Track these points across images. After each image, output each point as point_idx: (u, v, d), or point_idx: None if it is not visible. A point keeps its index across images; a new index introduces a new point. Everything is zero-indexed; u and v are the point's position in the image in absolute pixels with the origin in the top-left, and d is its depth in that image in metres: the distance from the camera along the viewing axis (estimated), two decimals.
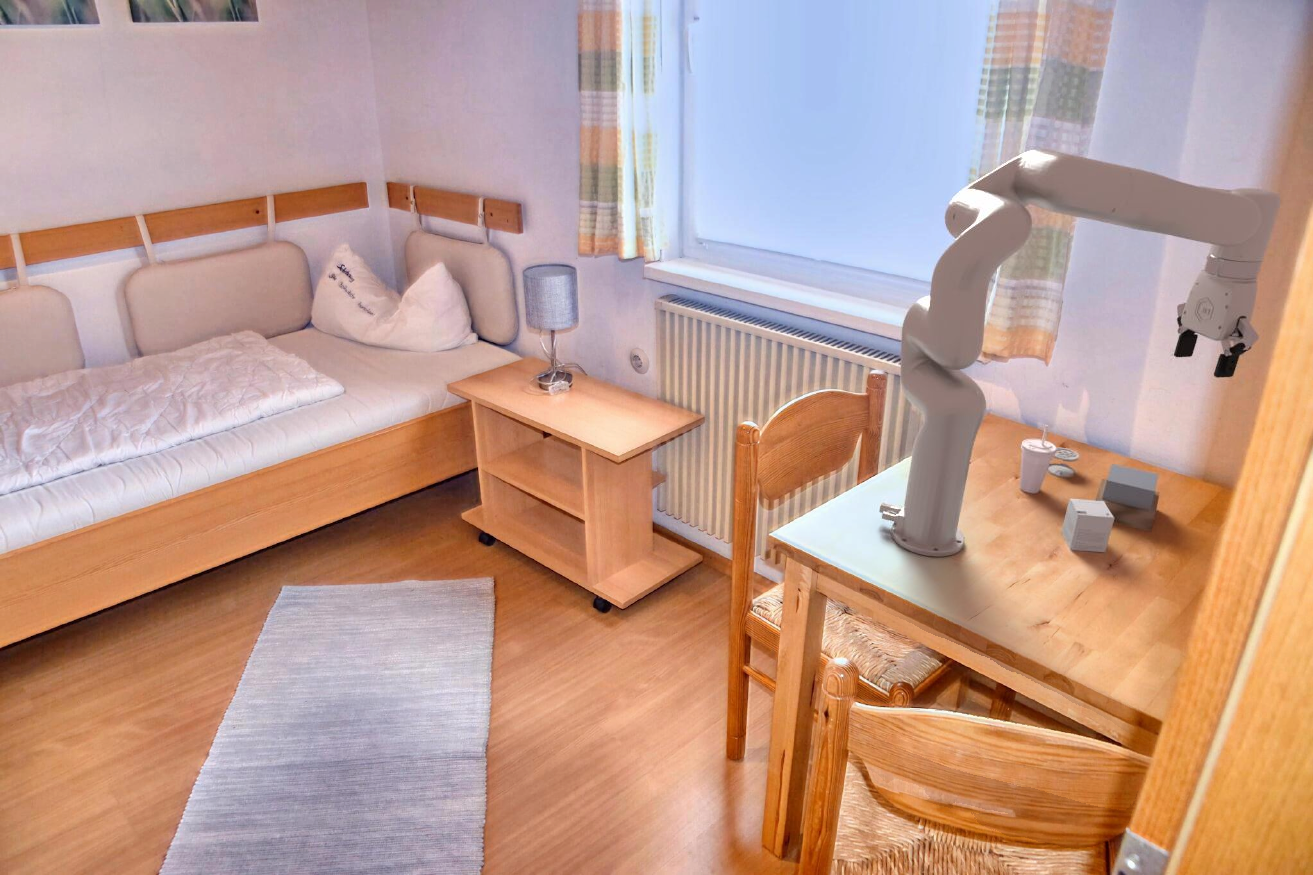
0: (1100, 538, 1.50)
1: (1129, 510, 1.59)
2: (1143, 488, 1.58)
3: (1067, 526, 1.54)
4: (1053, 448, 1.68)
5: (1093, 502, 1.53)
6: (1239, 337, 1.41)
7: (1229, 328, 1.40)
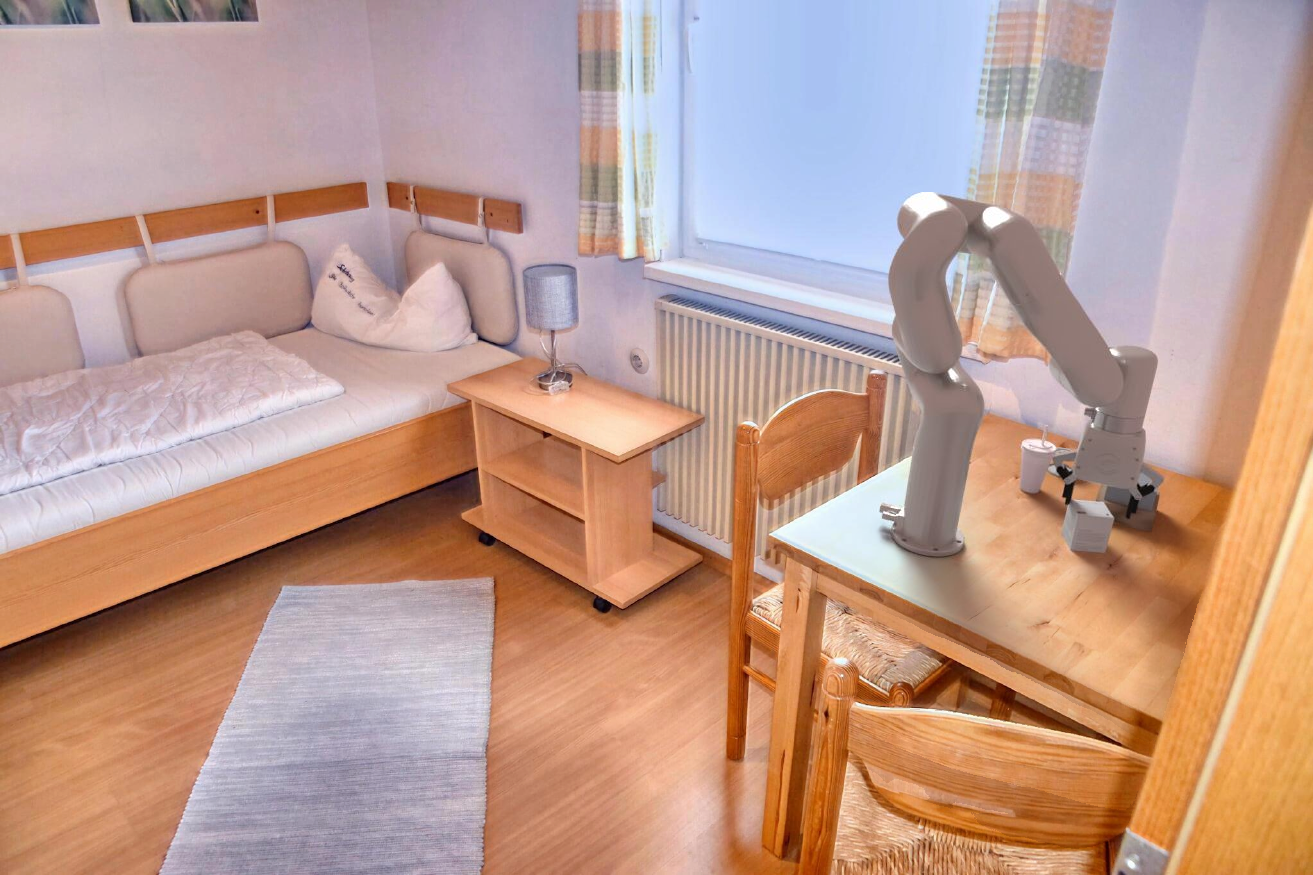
0: (1100, 538, 1.51)
1: None
2: None
3: (1067, 526, 1.54)
4: (1053, 448, 1.68)
5: (1093, 503, 1.53)
6: None
7: (1139, 476, 1.44)
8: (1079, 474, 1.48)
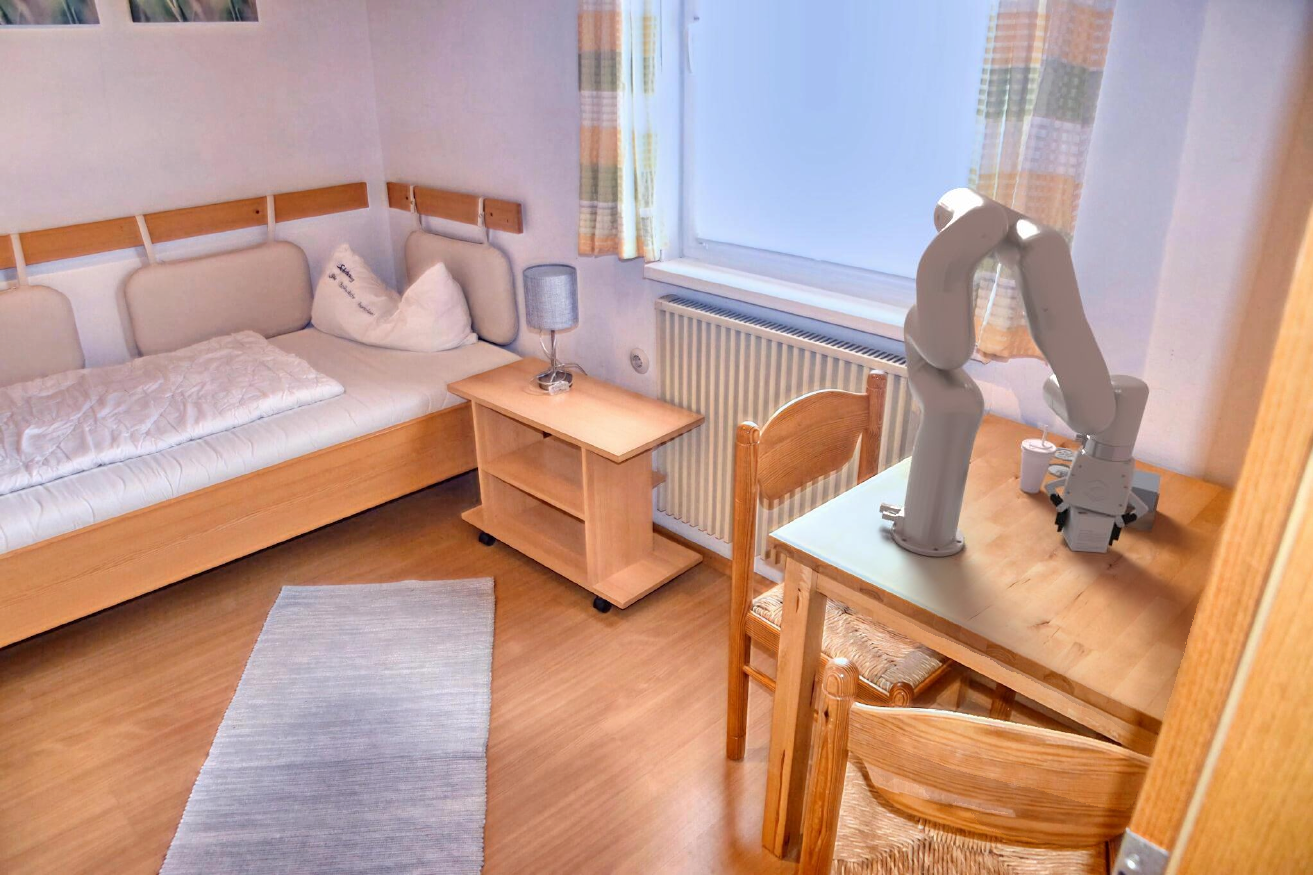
0: (1101, 538, 1.50)
1: (1129, 510, 1.59)
2: (1145, 489, 1.57)
3: (1068, 526, 1.54)
4: (1053, 448, 1.68)
5: None
6: None
7: (1127, 503, 1.47)
8: (1068, 499, 1.51)
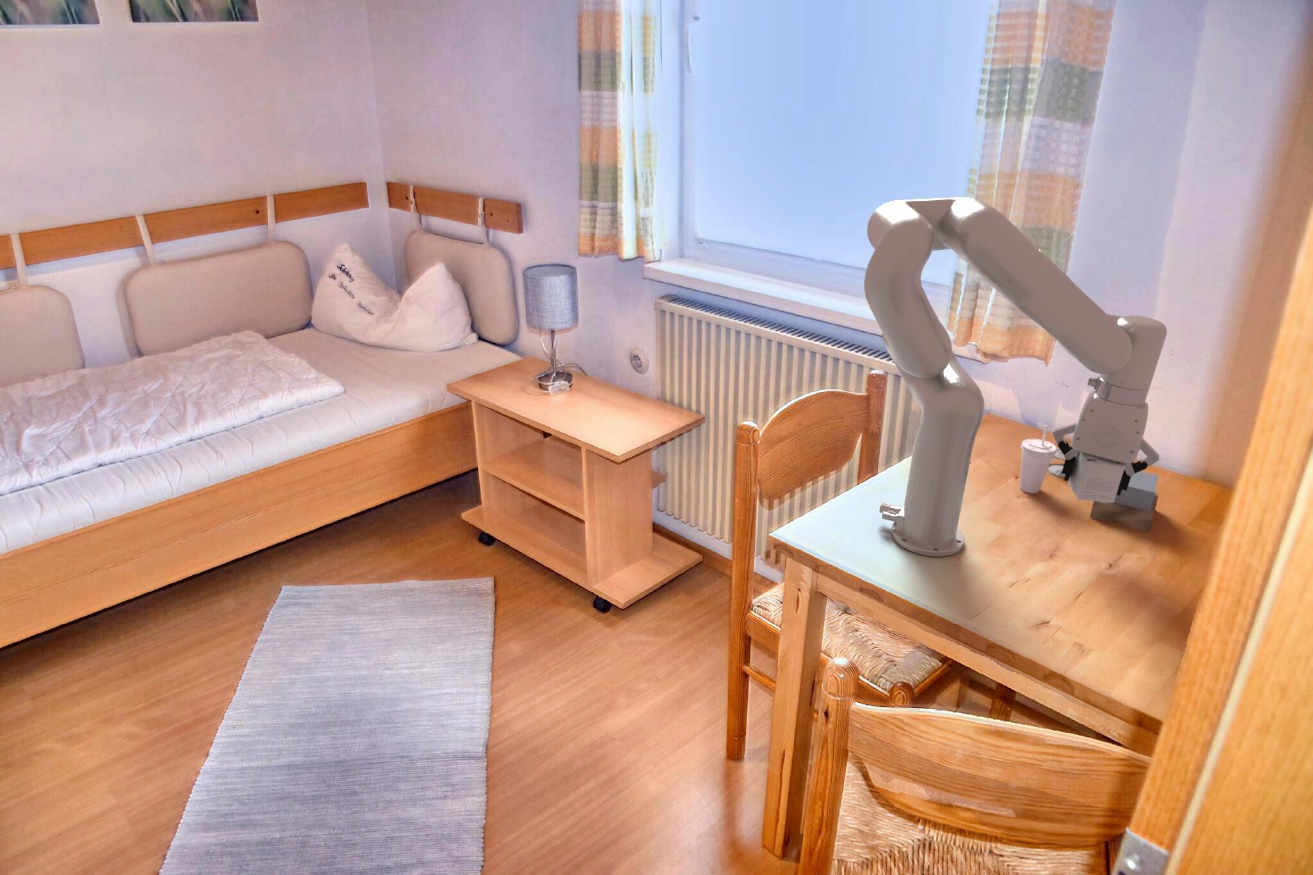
0: (1110, 487, 1.46)
1: (1128, 510, 1.59)
2: (1143, 489, 1.57)
3: (1075, 475, 1.50)
4: (1053, 448, 1.68)
5: None
6: None
7: (1138, 450, 1.42)
8: (1078, 445, 1.46)
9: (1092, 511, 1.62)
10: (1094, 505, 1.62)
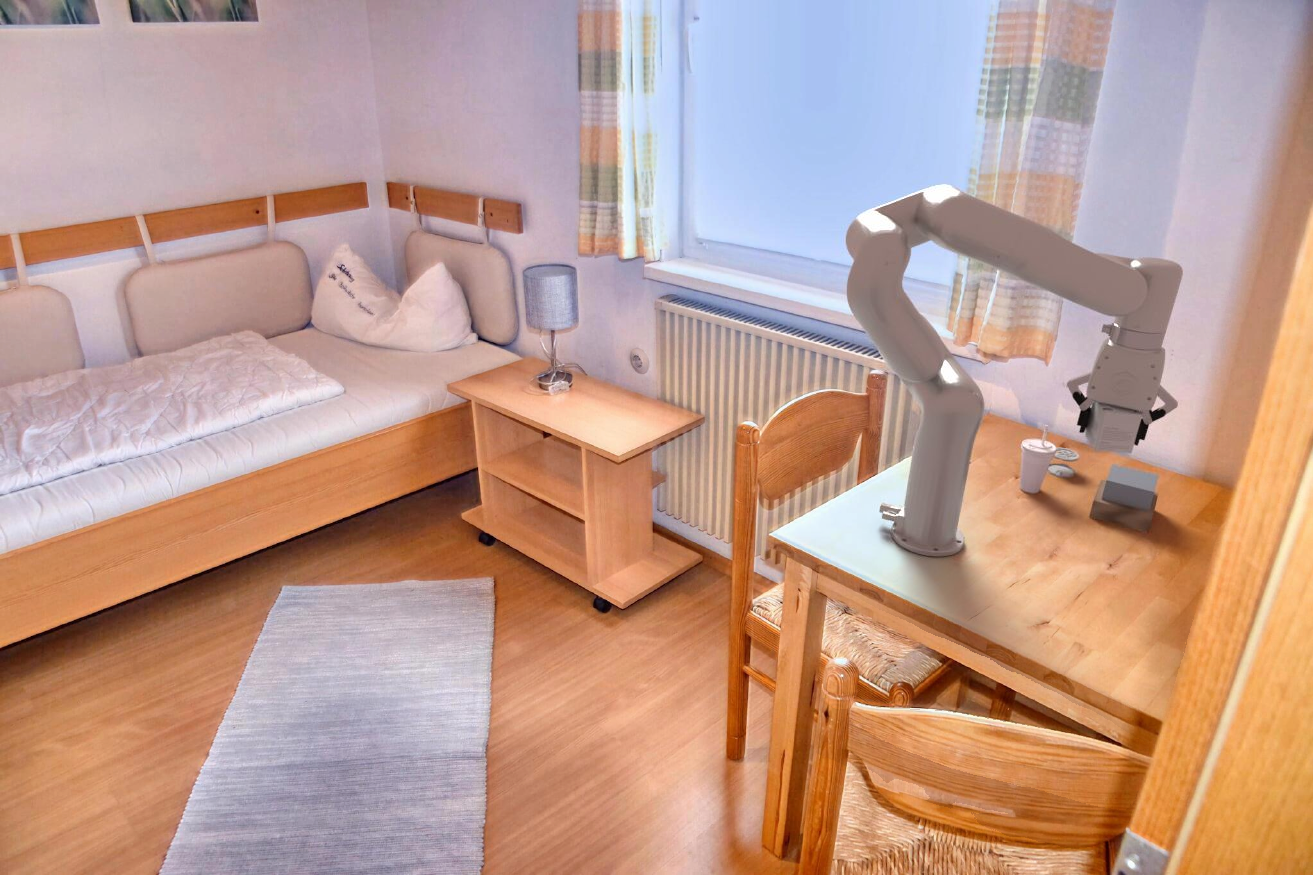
0: (1127, 437, 1.42)
1: (1127, 510, 1.59)
2: (1142, 488, 1.57)
3: (1091, 426, 1.45)
4: (1053, 448, 1.68)
5: None
6: None
7: (1156, 397, 1.38)
8: (1093, 395, 1.42)
9: (1091, 511, 1.62)
10: (1093, 505, 1.62)
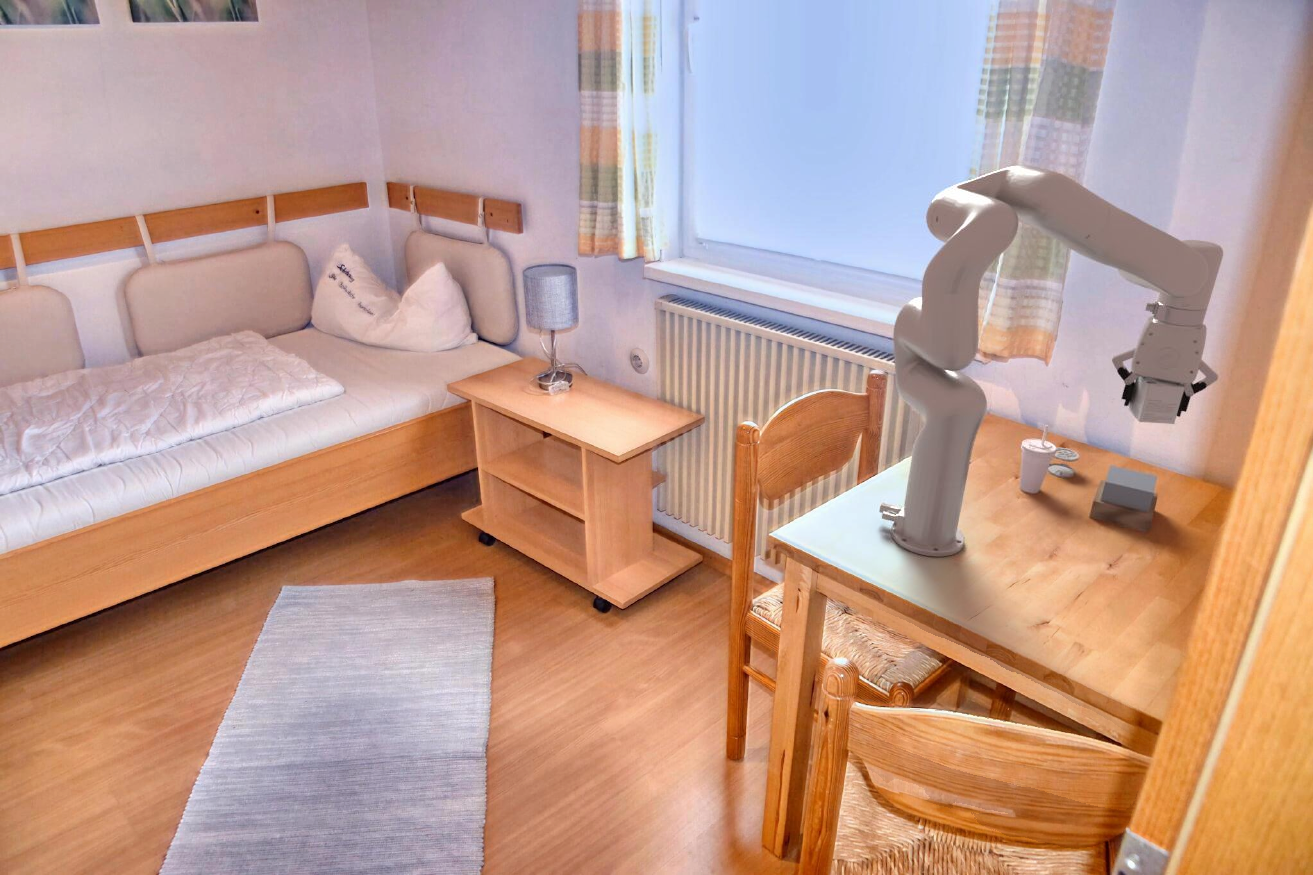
0: (1170, 408, 1.51)
1: (1127, 511, 1.59)
2: (1141, 489, 1.57)
3: (1135, 399, 1.55)
4: (1053, 448, 1.68)
5: None
6: None
7: None
8: (1138, 369, 1.52)
9: (1091, 511, 1.62)
10: (1093, 505, 1.62)
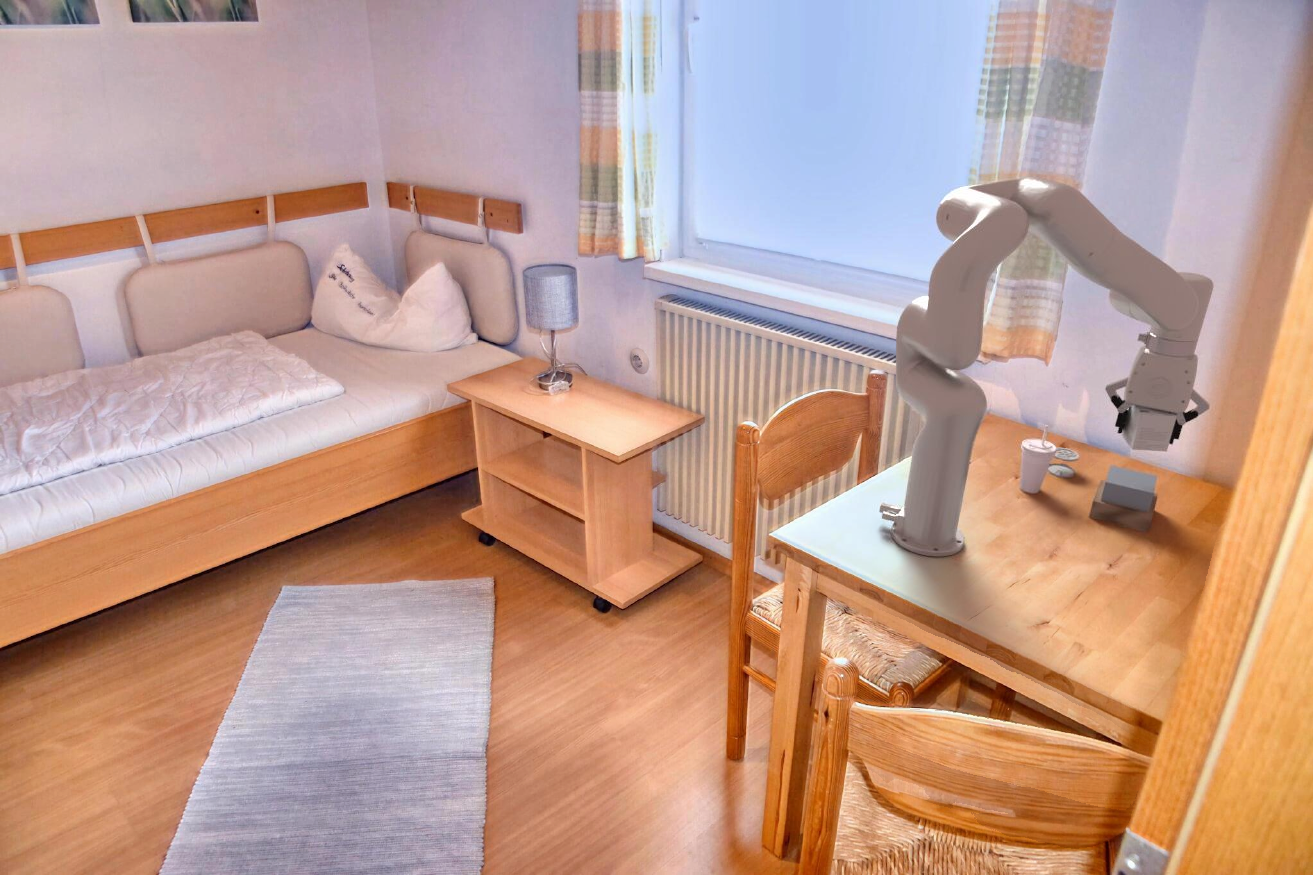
0: (1162, 436, 1.54)
1: (1127, 511, 1.59)
2: (1141, 489, 1.57)
3: (1129, 427, 1.58)
4: (1053, 448, 1.68)
5: None
6: None
7: (1189, 400, 1.50)
8: (1130, 398, 1.54)
9: (1091, 511, 1.62)
10: (1093, 505, 1.62)
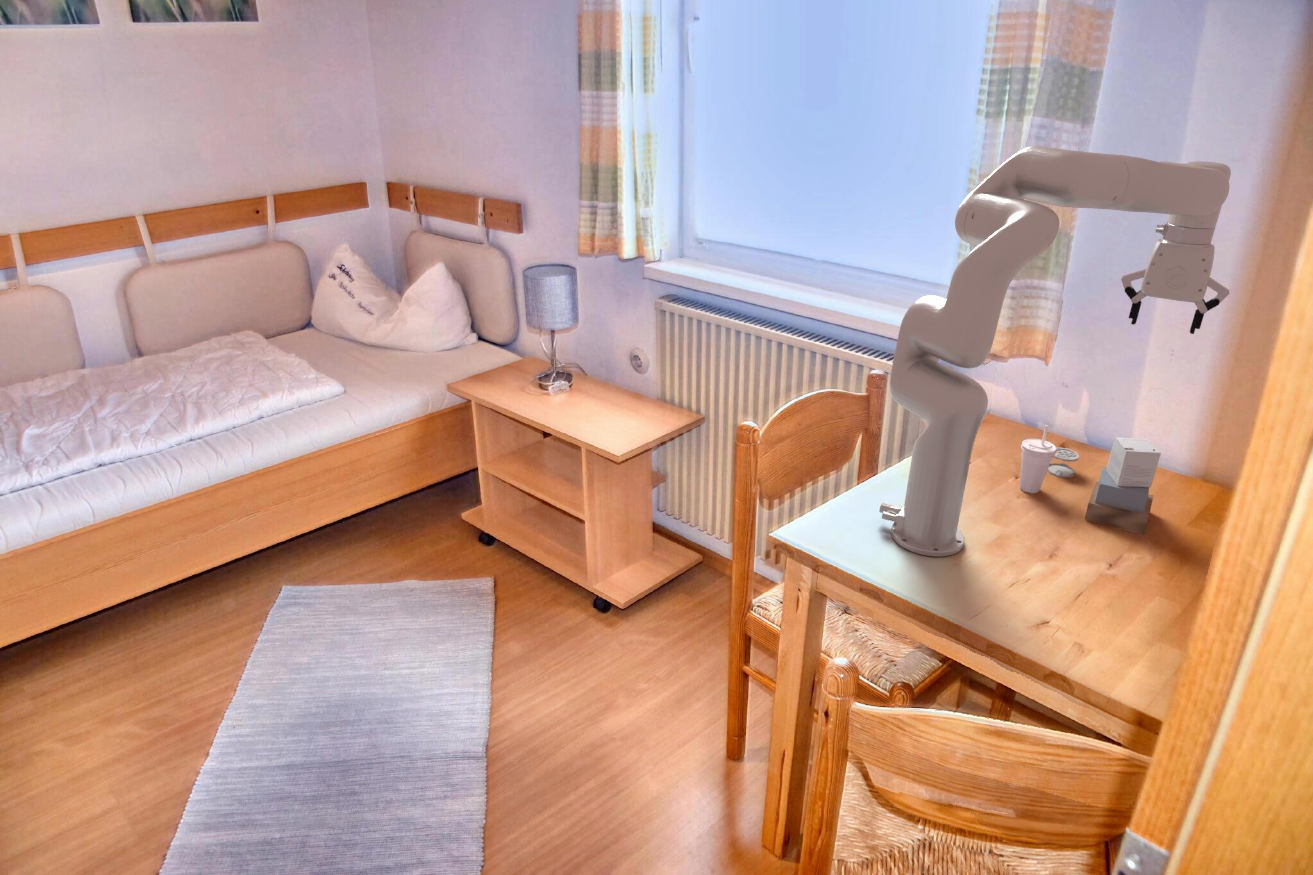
0: (1147, 473, 1.57)
1: (1122, 513, 1.58)
2: (1136, 491, 1.57)
3: (1113, 463, 1.60)
4: (1053, 448, 1.68)
5: (1138, 440, 1.59)
6: None
7: (1206, 289, 1.53)
8: (1148, 290, 1.57)
9: (1087, 513, 1.62)
10: (1088, 507, 1.61)
